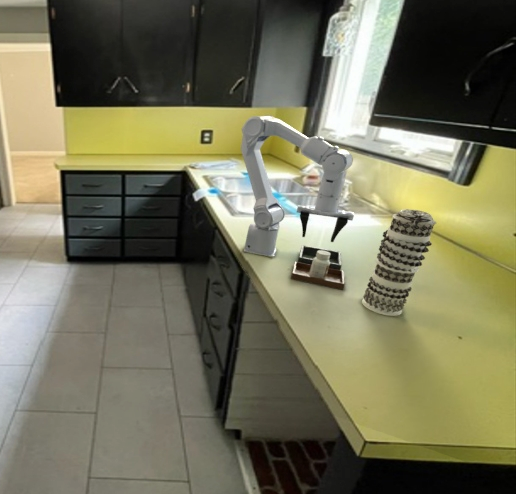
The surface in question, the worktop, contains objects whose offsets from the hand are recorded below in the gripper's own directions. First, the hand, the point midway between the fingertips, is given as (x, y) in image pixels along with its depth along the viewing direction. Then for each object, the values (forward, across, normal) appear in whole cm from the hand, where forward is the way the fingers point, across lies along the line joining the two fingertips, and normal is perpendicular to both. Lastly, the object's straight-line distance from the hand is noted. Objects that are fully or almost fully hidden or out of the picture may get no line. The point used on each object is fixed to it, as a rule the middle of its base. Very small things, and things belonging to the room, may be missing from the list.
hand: (317, 238), depth 109 cm
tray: (+9, +2, -8) cm, 12 cm away
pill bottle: (+9, +2, -8) cm, 12 cm away
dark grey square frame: (+9, +2, +4) cm, 10 cm away
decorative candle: (+10, +17, -17) cm, 26 cm away
